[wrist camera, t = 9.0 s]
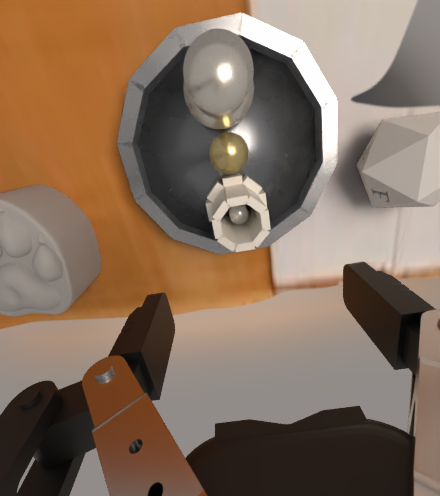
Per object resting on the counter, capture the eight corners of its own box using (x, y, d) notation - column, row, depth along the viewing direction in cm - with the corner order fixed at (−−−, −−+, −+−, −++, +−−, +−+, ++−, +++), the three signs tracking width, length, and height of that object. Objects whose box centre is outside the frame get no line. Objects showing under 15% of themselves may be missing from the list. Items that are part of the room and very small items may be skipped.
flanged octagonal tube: (202, 180, 28) (196, 194, 21) (260, 169, 27) (275, 179, 20) (213, 234, 30) (211, 264, 23) (266, 225, 30) (282, 252, 23)
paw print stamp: (31, 284, 34) (-25, 328, 26) (-7, 187, 29) (-92, 204, 21) (107, 280, 34) (73, 323, 26) (81, 181, 29) (30, 197, 21)
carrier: (160, 253, 33) (139, 293, 24) (102, 58, 25) (41, 15, 16) (326, 226, 31) (366, 257, 23) (322, 10, 23) (381, -67, 15)
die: (345, 118, 27) (348, 182, 22) (458, 71, 22) (496, 141, 17) (363, 175, 33) (368, 238, 27) (457, 149, 27) (486, 220, 22)
